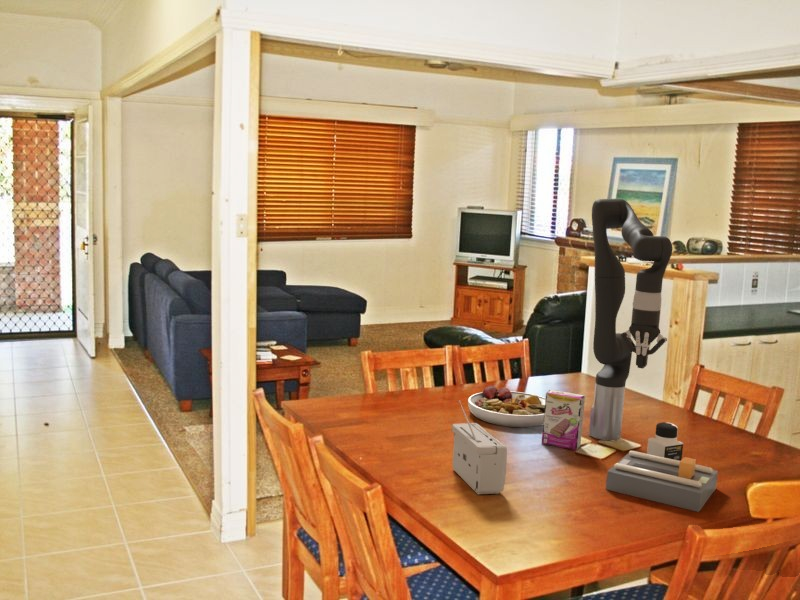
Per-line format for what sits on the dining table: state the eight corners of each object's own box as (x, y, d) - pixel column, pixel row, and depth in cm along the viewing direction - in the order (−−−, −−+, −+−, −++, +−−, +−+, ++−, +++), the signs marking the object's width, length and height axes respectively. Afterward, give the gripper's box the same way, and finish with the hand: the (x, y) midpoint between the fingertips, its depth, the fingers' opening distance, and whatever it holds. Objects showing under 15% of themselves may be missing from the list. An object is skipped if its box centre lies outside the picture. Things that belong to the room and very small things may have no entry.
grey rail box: (605, 489, 227) (607, 465, 226) (628, 468, 244) (630, 446, 243) (698, 511, 215) (701, 486, 213) (715, 488, 231) (718, 465, 230)
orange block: (678, 476, 224) (679, 461, 223) (682, 471, 228) (684, 456, 227) (690, 479, 222) (691, 464, 222) (694, 473, 227) (696, 459, 226)
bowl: (575, 422, 287) (577, 400, 286) (508, 435, 270) (510, 411, 268) (514, 400, 311) (516, 379, 310) (449, 410, 294) (450, 388, 293)
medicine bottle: (663, 469, 245) (667, 429, 243) (645, 461, 251) (649, 421, 249) (681, 466, 248) (685, 426, 246) (663, 458, 254) (667, 419, 252)
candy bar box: (540, 444, 261) (545, 392, 259) (545, 440, 266) (549, 388, 263) (577, 451, 257) (581, 398, 254) (581, 446, 261) (585, 394, 259)
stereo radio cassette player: (505, 495, 219) (511, 420, 216) (475, 497, 217) (480, 421, 214) (475, 467, 239) (480, 397, 236) (447, 468, 237) (452, 398, 233)
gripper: (674, 308, 239) (668, 369, 241) (627, 302, 246) (622, 361, 248) (667, 312, 232) (660, 374, 235) (619, 305, 239) (613, 366, 242)
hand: (640, 367), depth 242 cm, fingers closed
